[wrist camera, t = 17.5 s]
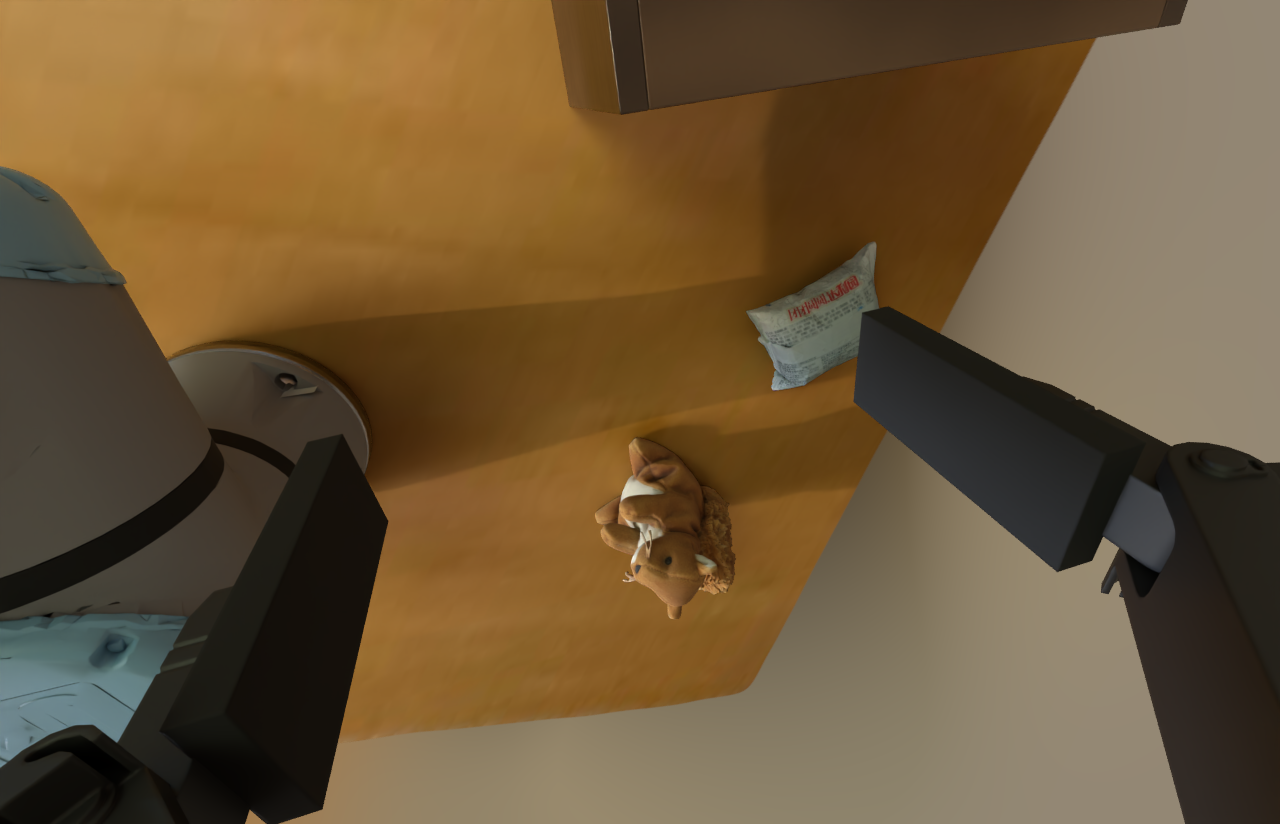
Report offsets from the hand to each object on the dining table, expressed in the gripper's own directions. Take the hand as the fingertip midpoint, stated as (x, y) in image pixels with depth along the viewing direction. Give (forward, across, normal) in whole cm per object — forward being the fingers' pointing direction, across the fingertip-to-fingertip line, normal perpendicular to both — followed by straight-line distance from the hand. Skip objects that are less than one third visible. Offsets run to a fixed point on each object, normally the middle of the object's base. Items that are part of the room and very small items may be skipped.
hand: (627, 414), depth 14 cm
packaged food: (+29, +21, -12) cm, 38 cm away
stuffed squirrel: (+29, +6, -28) cm, 41 cm away
